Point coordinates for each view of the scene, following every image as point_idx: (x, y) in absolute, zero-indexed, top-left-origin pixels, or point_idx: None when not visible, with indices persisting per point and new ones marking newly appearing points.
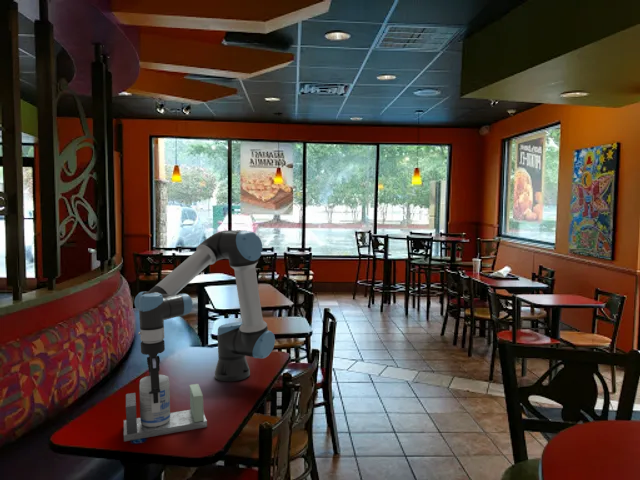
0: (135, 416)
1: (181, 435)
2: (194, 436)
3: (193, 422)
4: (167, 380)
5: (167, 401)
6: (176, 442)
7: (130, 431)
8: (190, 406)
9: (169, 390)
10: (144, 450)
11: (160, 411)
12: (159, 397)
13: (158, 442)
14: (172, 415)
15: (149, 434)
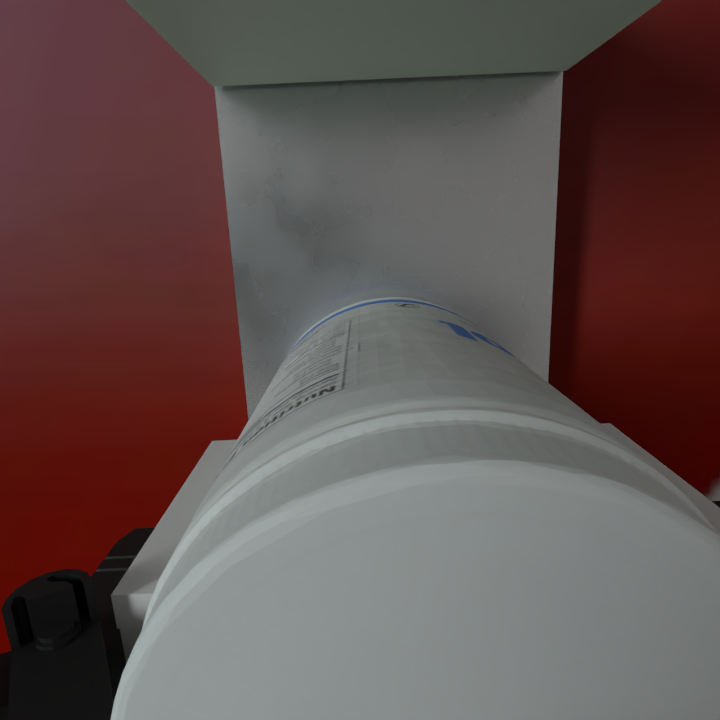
0: None
1: (610, 210)
2: (680, 105)
3: (544, 83)
4: (644, 487)
5: (520, 361)
6: (712, 255)
7: None
8: (225, 76)
9: (439, 356)
10: (717, 465)
11: (611, 424)
12: (718, 515)
13: (645, 379)
14: (304, 271)
15: None
